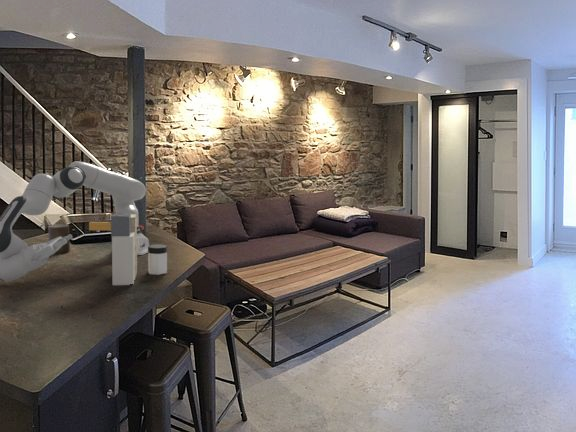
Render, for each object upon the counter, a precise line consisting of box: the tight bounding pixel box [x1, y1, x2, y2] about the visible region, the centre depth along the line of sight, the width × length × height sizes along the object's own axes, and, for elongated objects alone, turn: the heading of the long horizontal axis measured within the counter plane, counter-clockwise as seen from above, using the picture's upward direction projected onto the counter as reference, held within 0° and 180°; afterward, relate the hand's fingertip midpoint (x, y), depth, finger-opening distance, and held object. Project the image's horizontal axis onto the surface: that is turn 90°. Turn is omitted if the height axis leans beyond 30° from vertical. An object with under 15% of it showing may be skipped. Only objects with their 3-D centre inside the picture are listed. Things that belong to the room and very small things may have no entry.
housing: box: [88, 213, 131, 237], centre depth 194 cm, size 16×7×8 cm, turn 103°
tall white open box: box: [111, 232, 136, 286], centre depth 197 cm, size 8×9×20 cm
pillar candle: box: [47, 223, 71, 255], centre depth 245 cm, size 10×10×15 cm
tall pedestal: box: [131, 214, 138, 278], centre depth 207 cm, size 8×9×26 cm
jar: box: [147, 244, 168, 276], centre depth 214 cm, size 9×8×12 cm
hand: (69, 238), depth 191 cm, fingers open, 8 cm apart
